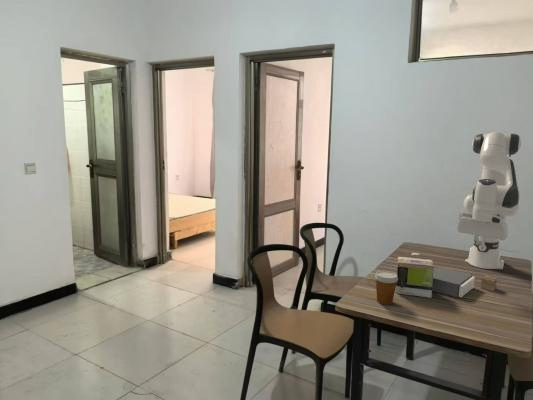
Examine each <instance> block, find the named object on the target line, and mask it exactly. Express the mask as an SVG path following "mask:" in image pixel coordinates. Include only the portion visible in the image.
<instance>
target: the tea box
mask: <svg viewBox="0 0 533 400" xmlns="http://www.w3.org/2000/svg"><path fill="white" fill-rule="evenodd" d="M396 265H397V266H396V274H397V277H398V281H397V283H396V288H395V293H396V294H400V295H405V296H407V295H409V296H413V297H414V296H417V297H422V298H430V299H432V295H433V291H432V284H433V271H434V270H435V269H434V267H435V266H434V263H433V260H432V259H428V258H427V259H425V258H416V257H405V256H398V257H397V264H396Z"/></svg>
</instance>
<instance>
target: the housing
mask: <svg viewBox="0 0 533 400" xmlns="http://www.w3.org/2000/svg"><path fill="white" fill-rule="evenodd" d="M472 276H473V275H472V274H471V273H467V272H462V271H458V270H453V269H450V268H445V267H441V266H439V267H437V268H435V269H433V284H432V292H436V293H439V294H443V295H447V296H451V297H454V298H457V299H458V298H460V297H459V286H460V285H461V284H463V283H464V282H465V281H467V280H468V279H469V278H471V277H472Z"/></svg>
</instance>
